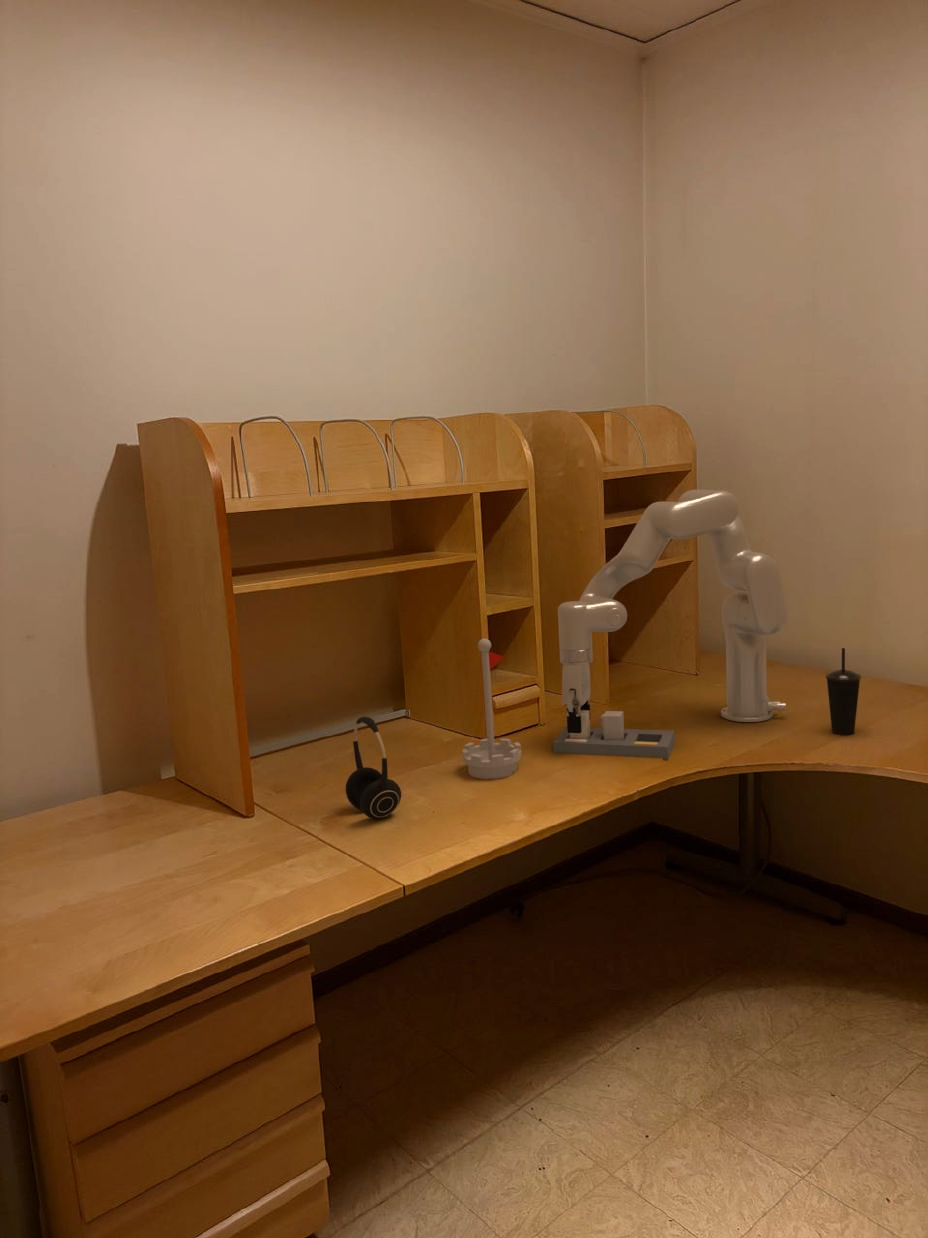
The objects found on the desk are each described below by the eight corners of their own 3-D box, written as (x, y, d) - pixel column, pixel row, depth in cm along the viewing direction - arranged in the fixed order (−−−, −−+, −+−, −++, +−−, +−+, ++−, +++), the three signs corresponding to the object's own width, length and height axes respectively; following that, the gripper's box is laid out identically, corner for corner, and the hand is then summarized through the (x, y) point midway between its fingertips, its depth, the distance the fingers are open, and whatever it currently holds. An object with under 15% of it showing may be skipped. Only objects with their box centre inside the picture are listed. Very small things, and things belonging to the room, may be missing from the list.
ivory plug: (590, 743, 220) (589, 710, 219) (587, 748, 217) (585, 715, 215) (571, 742, 222) (569, 709, 220) (567, 747, 218) (565, 714, 217)
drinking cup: (854, 726, 220) (855, 644, 217) (865, 736, 213) (866, 651, 209) (821, 727, 221) (821, 645, 218) (830, 737, 214) (830, 652, 210)
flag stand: (485, 785, 199) (476, 648, 194) (452, 770, 210) (443, 639, 205) (533, 770, 206) (526, 637, 201) (499, 756, 217) (491, 630, 212)
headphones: (379, 797, 196) (371, 706, 192) (410, 819, 183) (402, 721, 180) (341, 807, 192) (332, 714, 188) (370, 830, 179) (361, 730, 176)
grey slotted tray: (674, 743, 218) (673, 708, 216) (668, 760, 207) (666, 723, 205) (565, 738, 226) (564, 705, 225) (553, 754, 215) (552, 719, 214)
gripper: (568, 647, 225) (571, 715, 228) (551, 663, 209) (554, 737, 212) (599, 647, 222) (602, 716, 225) (584, 664, 206) (587, 738, 209)
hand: (579, 726), depth 218 cm, fingers open, 9 cm apart
